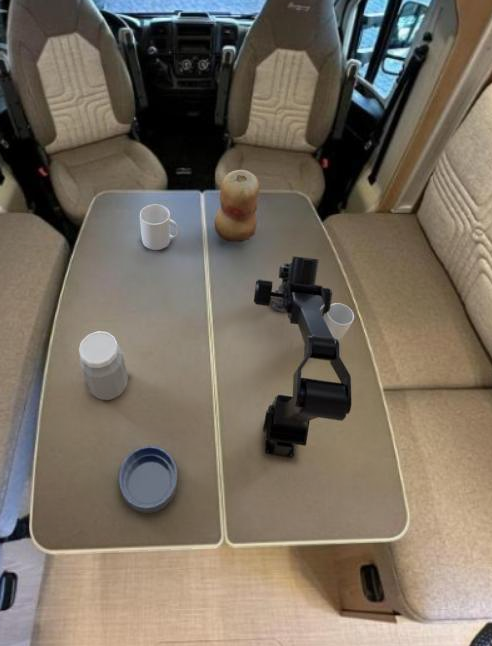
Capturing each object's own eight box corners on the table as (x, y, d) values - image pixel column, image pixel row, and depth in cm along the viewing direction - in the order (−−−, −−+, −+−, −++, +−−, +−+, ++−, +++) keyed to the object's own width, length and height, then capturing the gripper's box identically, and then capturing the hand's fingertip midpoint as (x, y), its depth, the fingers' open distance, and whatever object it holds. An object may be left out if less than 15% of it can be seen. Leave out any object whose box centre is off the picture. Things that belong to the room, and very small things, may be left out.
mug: (142, 231, 140) (139, 204, 131) (177, 230, 141) (177, 203, 132) (142, 251, 134) (139, 225, 125) (179, 250, 135) (179, 223, 126)
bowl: (172, 518, 86) (171, 512, 81) (115, 508, 86) (112, 502, 82) (181, 458, 93) (181, 450, 89) (129, 449, 94) (126, 441, 90)
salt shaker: (290, 314, 120) (299, 288, 110) (269, 310, 120) (277, 284, 111) (291, 298, 123) (300, 272, 114) (271, 294, 124) (278, 268, 115)
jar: (81, 380, 105) (67, 344, 91) (114, 359, 109) (105, 320, 95) (102, 410, 100) (90, 375, 86) (135, 386, 104) (129, 349, 90)
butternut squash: (208, 245, 137) (213, 184, 118) (218, 219, 145) (224, 158, 126) (249, 255, 134) (261, 194, 115) (257, 228, 143) (269, 167, 124)
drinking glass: (308, 349, 112) (323, 318, 101) (315, 330, 116) (330, 298, 105) (332, 360, 110) (350, 329, 99) (339, 340, 114) (357, 309, 103)
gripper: (342, 271, 95) (326, 267, 111) (261, 261, 96) (256, 258, 112) (335, 318, 96) (320, 307, 112) (255, 308, 97) (251, 299, 113)
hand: (287, 292), depth 112 cm, fingers open, 9 cm apart
